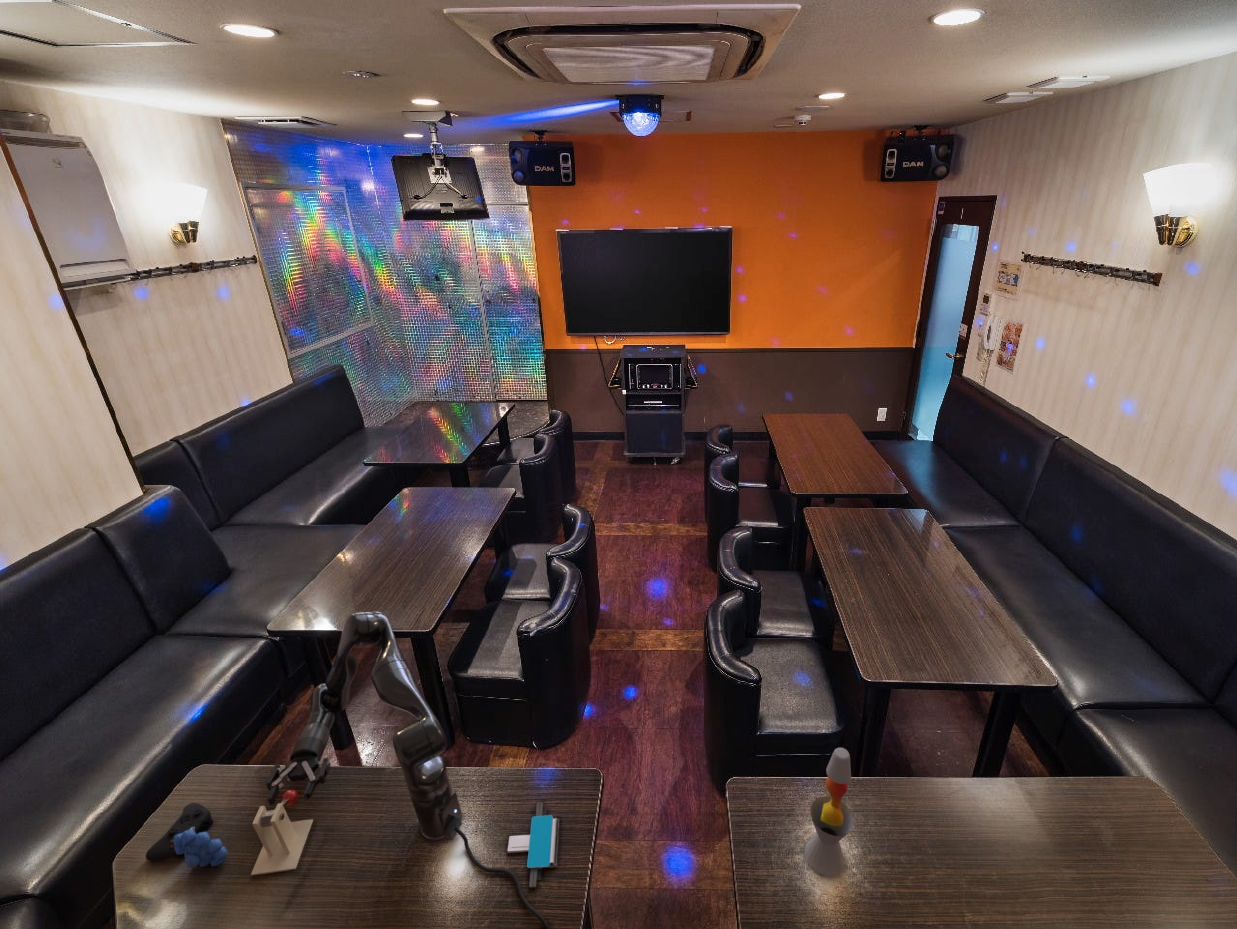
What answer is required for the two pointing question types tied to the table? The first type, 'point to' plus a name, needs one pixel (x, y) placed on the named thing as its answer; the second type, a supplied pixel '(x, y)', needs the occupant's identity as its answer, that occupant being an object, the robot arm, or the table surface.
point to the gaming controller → (180, 831)
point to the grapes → (199, 848)
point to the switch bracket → (279, 841)
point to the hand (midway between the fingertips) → (288, 800)
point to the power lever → (287, 800)
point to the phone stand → (538, 844)
